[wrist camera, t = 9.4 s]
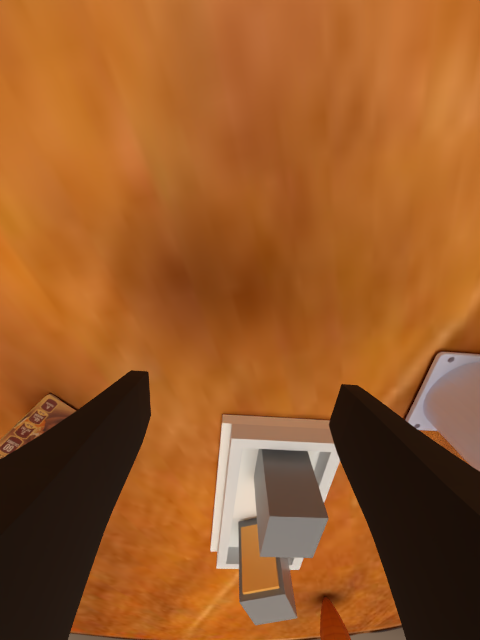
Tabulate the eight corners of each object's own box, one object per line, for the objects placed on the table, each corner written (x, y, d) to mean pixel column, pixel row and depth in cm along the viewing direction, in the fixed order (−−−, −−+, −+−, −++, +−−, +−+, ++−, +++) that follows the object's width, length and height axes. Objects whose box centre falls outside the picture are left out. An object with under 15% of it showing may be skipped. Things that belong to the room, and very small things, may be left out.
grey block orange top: (251, 545, 28) (255, 625, 23) (237, 519, 26) (238, 600, 21) (284, 538, 28) (297, 618, 23) (273, 511, 26) (284, 591, 20)
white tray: (342, 421, 22) (355, 444, 20) (300, 542, 30) (305, 570, 28) (222, 414, 22) (221, 438, 19) (211, 540, 30) (209, 568, 27)
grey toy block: (304, 441, 22) (328, 518, 16) (293, 481, 24) (311, 560, 19) (260, 439, 22) (269, 516, 16) (253, 479, 24) (259, 559, 18)
